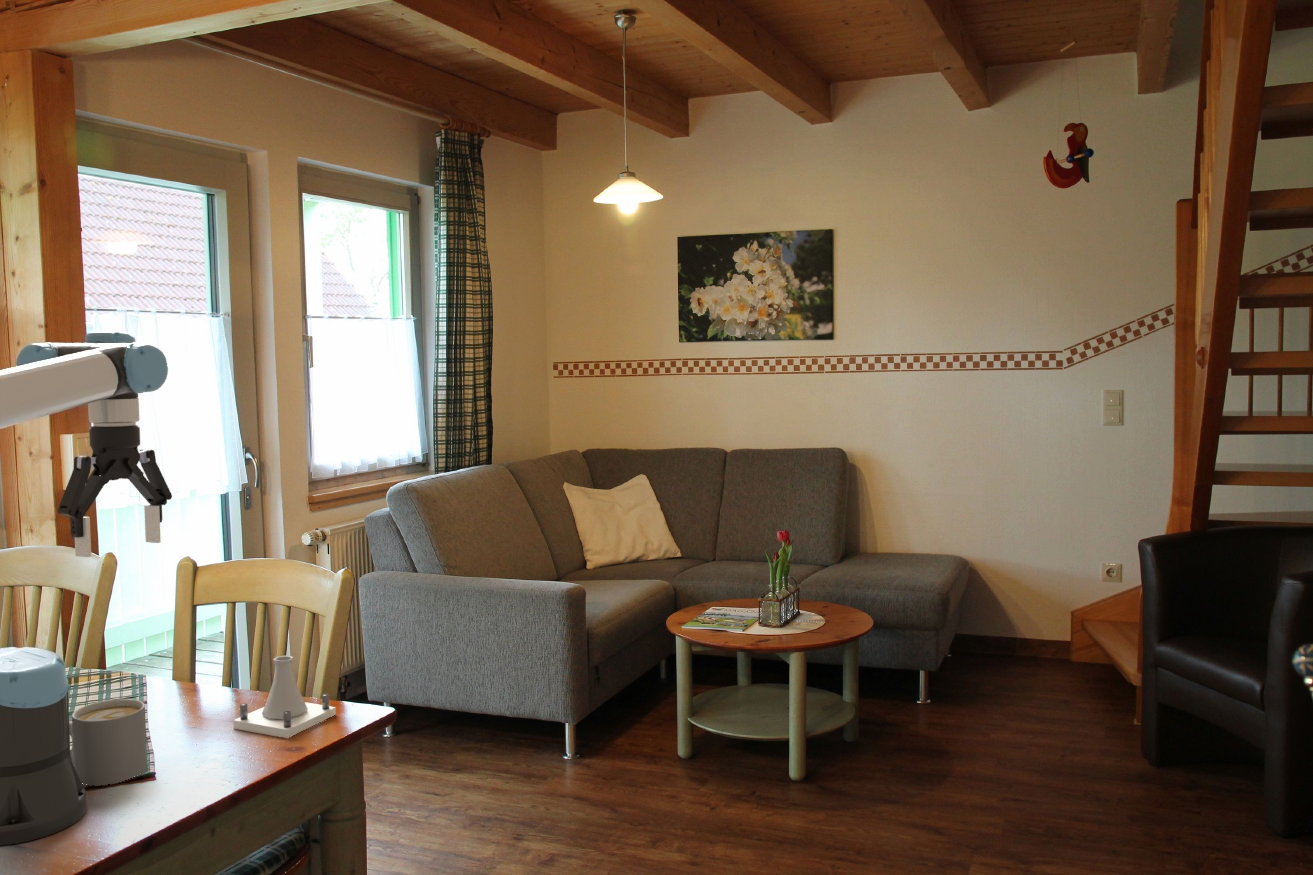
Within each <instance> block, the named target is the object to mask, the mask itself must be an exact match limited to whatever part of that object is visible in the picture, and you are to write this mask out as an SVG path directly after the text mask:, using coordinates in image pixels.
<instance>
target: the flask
mask: <svg viewBox="0 0 1313 875" xmlns="http://www.w3.org/2000/svg"><path fill="white" fill-rule="evenodd" d="M294 659H295V657H294V656H291V655H280V656H276V657H274V658H273V659H272V661H273V663H274V666H275V667H274V675H273V680H272V684H271V687H270V690H269V694H268V696H267V698H266V701H265V705H264V706H263V707H264V709H263V712H262V715H263V716H265V717H267V718H269V719H283V712H285V711H291V718H292V717H295V716H299V715H301V714H303V713H304V712H305V711H307V710H308V709H307V706H306V704H305V700H304V698H303V695H302V694H301V691H300V688H299V686H298V684H297V681H296V679H295V676H294V670H293V662H294Z"/></svg>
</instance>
